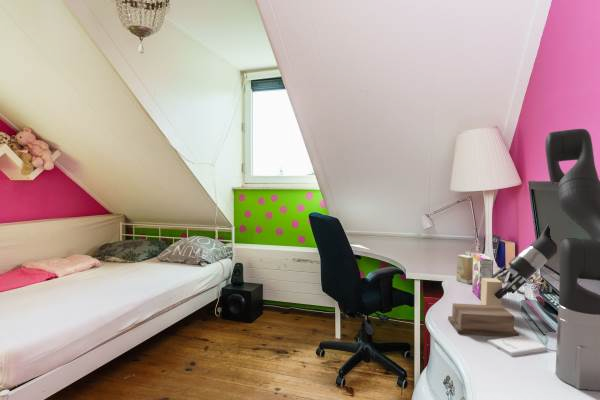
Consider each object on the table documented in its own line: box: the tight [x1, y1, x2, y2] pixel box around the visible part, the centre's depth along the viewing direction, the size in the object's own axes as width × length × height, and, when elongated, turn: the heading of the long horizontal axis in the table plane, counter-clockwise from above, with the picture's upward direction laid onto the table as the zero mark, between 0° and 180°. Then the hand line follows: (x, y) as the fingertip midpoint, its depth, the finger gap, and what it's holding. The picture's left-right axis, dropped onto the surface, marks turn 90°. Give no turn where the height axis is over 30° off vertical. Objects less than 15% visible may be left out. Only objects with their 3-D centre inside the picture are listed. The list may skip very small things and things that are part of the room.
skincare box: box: [455, 254, 473, 285], centre depth 166 cm, size 6×4×12 cm
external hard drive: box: [487, 335, 548, 357], centre depth 101 cm, size 2×8×12 cm
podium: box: [447, 302, 520, 338], centre depth 113 cm, size 11×17×6 cm, turn 82°
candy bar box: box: [471, 253, 494, 301], centre depth 145 cm, size 11×5×16 cm, turn 168°
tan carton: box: [480, 278, 503, 307], centre depth 126 cm, size 5×5×12 cm
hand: (491, 293), depth 126 cm, fingers open, 8 cm apart
